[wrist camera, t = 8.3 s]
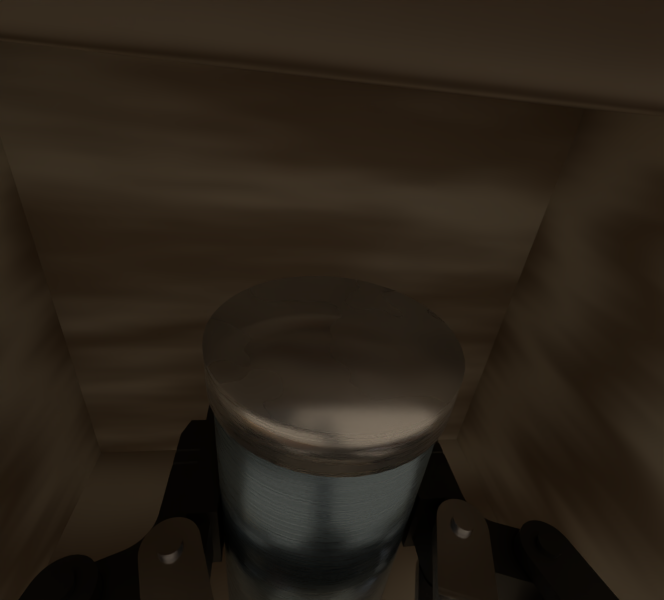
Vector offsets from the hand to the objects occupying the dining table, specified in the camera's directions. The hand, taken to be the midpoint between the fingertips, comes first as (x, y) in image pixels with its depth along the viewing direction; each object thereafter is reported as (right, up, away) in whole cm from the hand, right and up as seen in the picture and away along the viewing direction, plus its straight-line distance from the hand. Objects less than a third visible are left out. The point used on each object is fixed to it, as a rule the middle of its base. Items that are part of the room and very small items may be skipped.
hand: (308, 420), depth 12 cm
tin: (0, -7, +1) cm, 7 cm away
